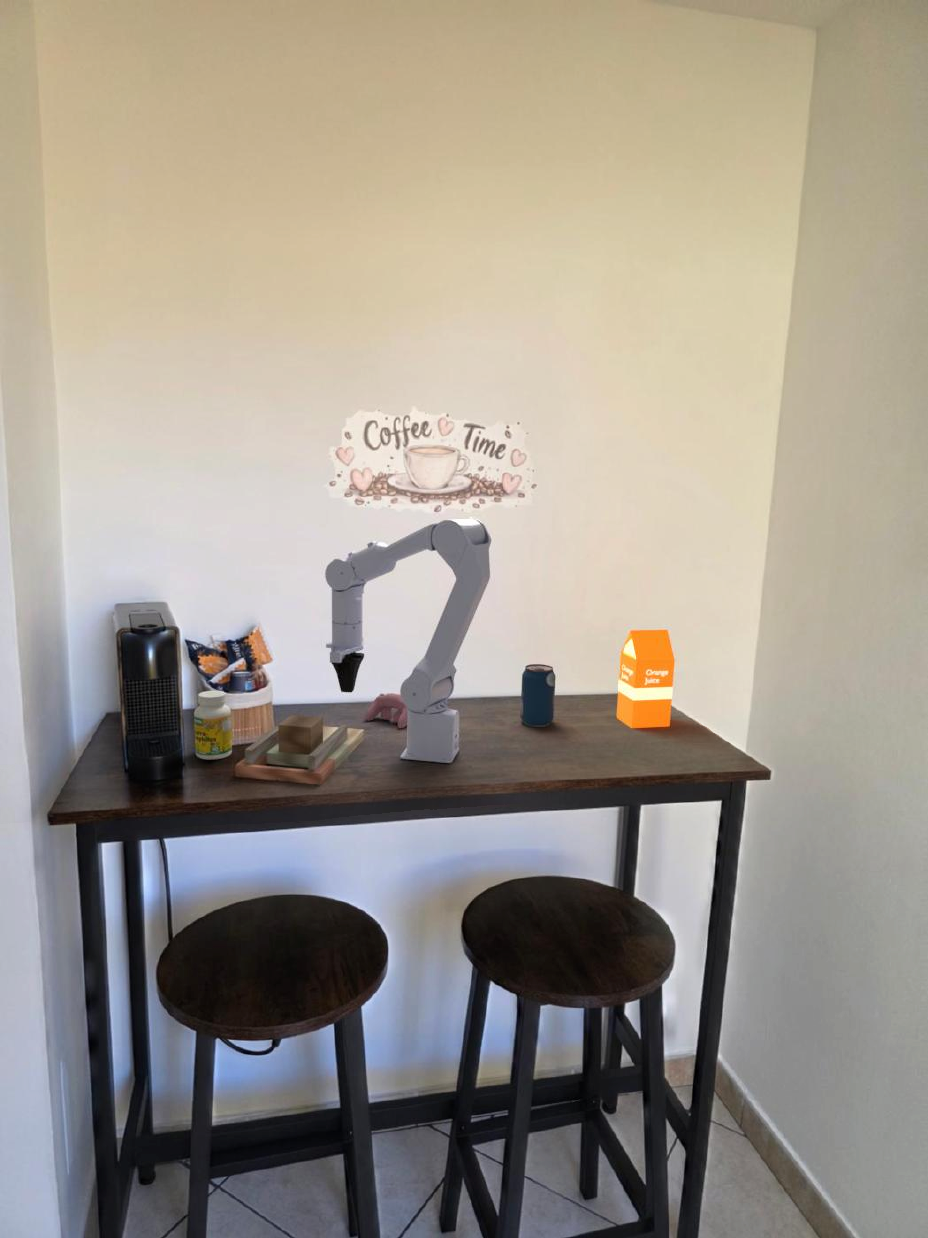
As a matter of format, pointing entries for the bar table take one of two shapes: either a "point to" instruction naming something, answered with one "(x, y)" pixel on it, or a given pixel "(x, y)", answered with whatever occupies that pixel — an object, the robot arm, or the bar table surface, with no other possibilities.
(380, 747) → the bar table surface
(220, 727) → the supplement bottle
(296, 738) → the walnut block
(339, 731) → the channel deck
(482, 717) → the bar table surface
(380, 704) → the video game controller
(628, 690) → the orange juice
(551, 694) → the soda can
